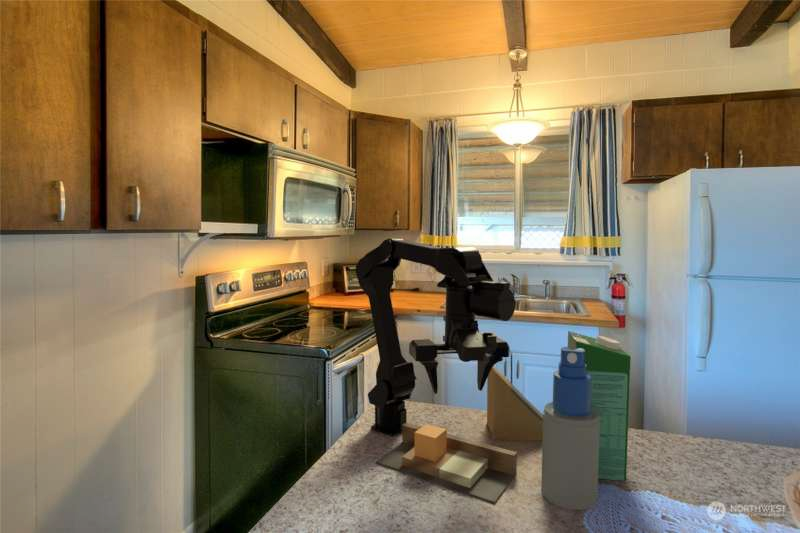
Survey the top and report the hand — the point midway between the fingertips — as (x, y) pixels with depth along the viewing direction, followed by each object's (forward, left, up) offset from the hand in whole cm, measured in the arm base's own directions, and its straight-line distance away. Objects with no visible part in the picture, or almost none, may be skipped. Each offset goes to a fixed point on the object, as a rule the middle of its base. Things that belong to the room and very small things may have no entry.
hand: (457, 391), depth 86 cm
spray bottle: (+21, -1, -14) cm, 25 cm away
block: (-3, -5, -11) cm, 13 cm away
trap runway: (0, -5, -13) cm, 14 cm away
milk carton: (+23, +11, -14) cm, 29 cm away
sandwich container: (+7, +19, -14) cm, 25 cm away
